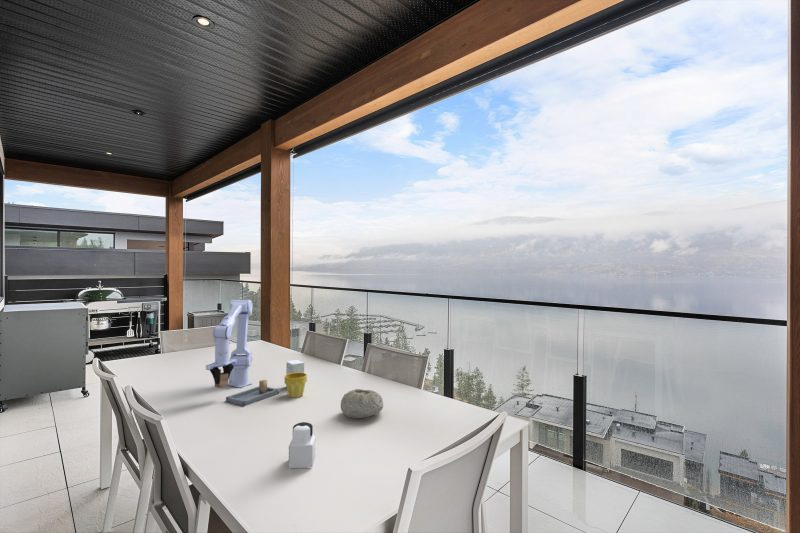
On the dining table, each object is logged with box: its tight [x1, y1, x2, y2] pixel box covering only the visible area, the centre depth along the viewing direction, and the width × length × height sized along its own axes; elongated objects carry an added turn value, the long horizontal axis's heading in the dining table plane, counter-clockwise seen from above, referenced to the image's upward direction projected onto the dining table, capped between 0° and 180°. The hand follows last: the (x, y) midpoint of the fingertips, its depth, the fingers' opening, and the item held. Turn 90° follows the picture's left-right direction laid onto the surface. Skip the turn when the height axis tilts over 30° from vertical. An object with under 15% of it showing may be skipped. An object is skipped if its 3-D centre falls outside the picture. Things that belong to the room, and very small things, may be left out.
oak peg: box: [258, 379, 268, 394], centre depth 186 cm, size 4×4×6 cm
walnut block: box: [214, 371, 229, 389], centre depth 175 cm, size 4×4×6 cm
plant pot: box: [284, 372, 308, 399], centre depth 184 cm, size 10×10×10 cm
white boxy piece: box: [288, 421, 317, 469], centre depth 121 cm, size 7×7×12 cm
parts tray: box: [225, 386, 280, 407], centre depth 180 cm, size 12×20×2 cm, turn 151°
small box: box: [285, 359, 305, 388], centre depth 196 cm, size 8×6×13 cm
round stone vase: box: [340, 388, 384, 419], centre depth 160 cm, size 18×18×10 cm
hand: (221, 382), depth 175 cm, fingers closed on walnut block, 4 cm apart
